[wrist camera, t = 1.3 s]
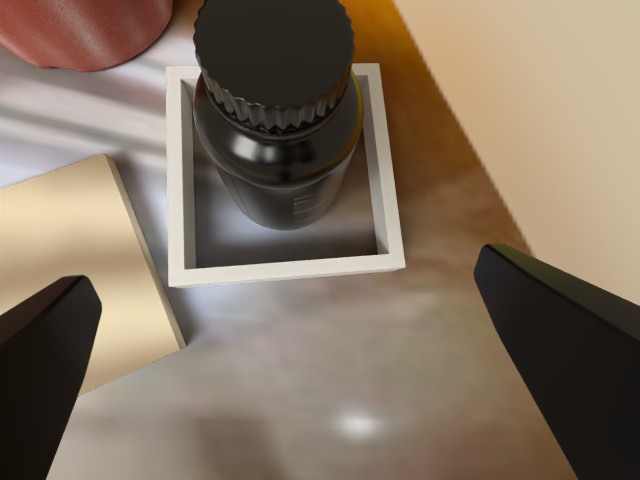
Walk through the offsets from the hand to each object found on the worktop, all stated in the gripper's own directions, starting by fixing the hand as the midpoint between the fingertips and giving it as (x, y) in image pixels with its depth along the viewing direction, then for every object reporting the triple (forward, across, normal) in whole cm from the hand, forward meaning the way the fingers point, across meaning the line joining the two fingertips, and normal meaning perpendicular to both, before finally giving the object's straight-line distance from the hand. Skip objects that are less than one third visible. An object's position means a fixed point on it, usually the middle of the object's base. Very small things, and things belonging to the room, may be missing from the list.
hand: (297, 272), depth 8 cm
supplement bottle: (+14, 0, +4) cm, 15 cm away
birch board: (+10, +13, +8) cm, 18 cm away
